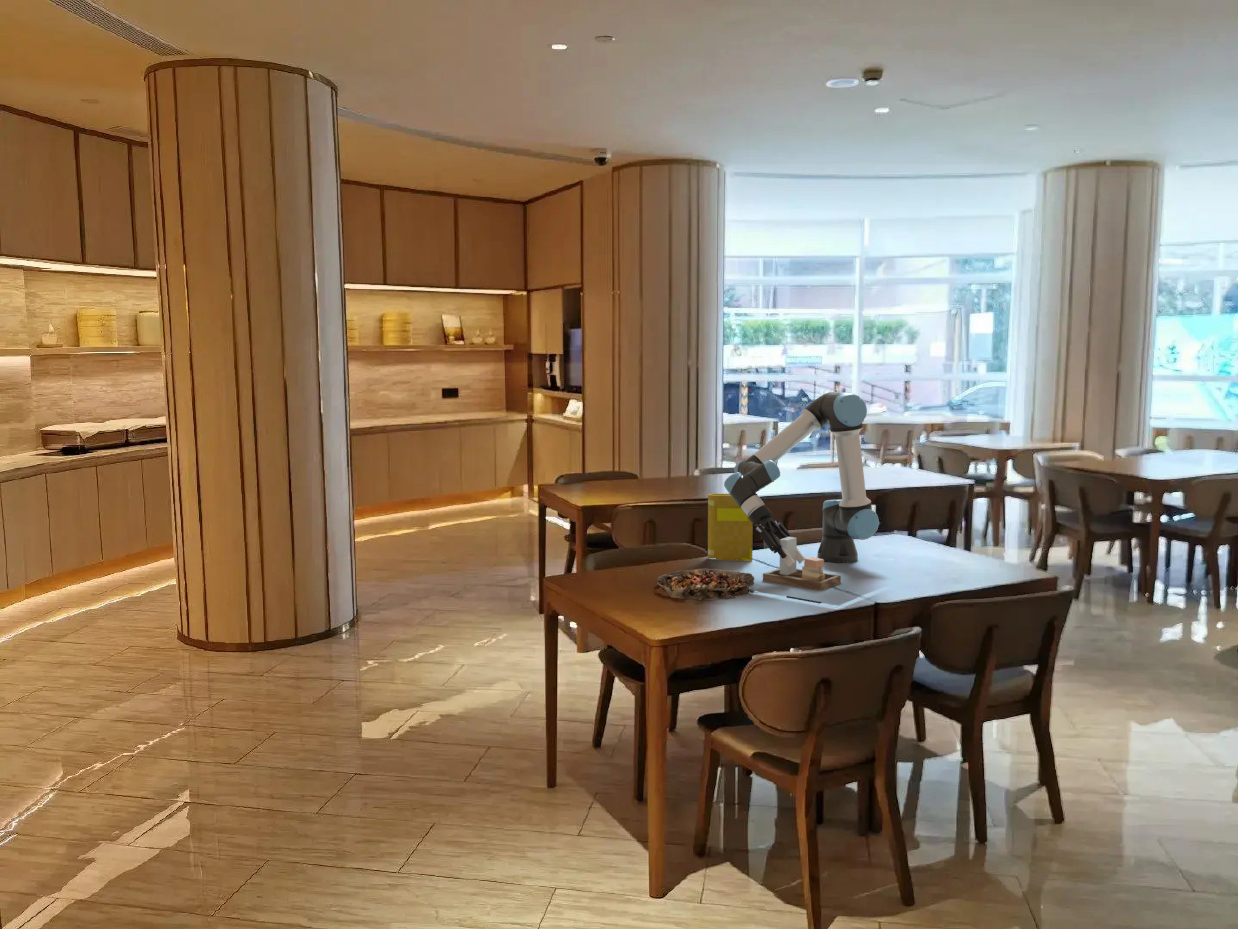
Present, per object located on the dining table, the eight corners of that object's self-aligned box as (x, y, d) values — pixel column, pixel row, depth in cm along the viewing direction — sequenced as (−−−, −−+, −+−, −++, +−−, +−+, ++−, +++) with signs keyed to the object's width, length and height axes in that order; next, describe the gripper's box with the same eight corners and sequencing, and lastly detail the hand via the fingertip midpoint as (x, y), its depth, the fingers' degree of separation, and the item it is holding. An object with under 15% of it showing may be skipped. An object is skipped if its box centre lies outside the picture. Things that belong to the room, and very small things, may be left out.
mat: (805, 590, 319) (805, 588, 319) (837, 596, 311) (838, 594, 311) (786, 597, 310) (786, 595, 310) (819, 603, 302) (819, 601, 302)
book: (751, 557, 372) (752, 493, 369) (752, 561, 366) (752, 496, 363) (707, 556, 374) (708, 493, 371) (707, 560, 367) (708, 495, 364)
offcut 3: (809, 580, 327) (809, 572, 327) (824, 583, 324) (824, 574, 323) (801, 583, 324) (801, 574, 323) (817, 586, 320) (817, 577, 319)
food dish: (697, 610, 300) (696, 586, 299) (636, 591, 327) (636, 568, 326) (780, 591, 319) (779, 568, 318) (716, 574, 346) (716, 553, 346)
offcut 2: (807, 572, 327) (807, 564, 326) (822, 574, 324) (822, 565, 323) (802, 575, 323) (802, 566, 323) (817, 577, 320) (818, 568, 320)
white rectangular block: (788, 570, 333) (788, 536, 331) (796, 571, 331) (796, 537, 329) (779, 573, 328) (779, 539, 327) (787, 575, 326) (787, 540, 325)
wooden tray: (784, 576, 339) (784, 566, 339) (840, 586, 325) (840, 575, 324) (762, 583, 329) (762, 573, 328) (819, 593, 314) (820, 583, 314)
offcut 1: (812, 564, 326) (812, 557, 326) (823, 566, 322) (823, 559, 322) (804, 565, 324) (804, 558, 323) (816, 568, 320) (816, 561, 320)
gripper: (764, 514, 345) (804, 564, 336) (735, 521, 330) (775, 574, 322) (777, 500, 341) (818, 551, 332) (748, 507, 326) (789, 561, 317)
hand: (797, 562), depth 327 cm, fingers closed on white rectangular block, 6 cm apart
